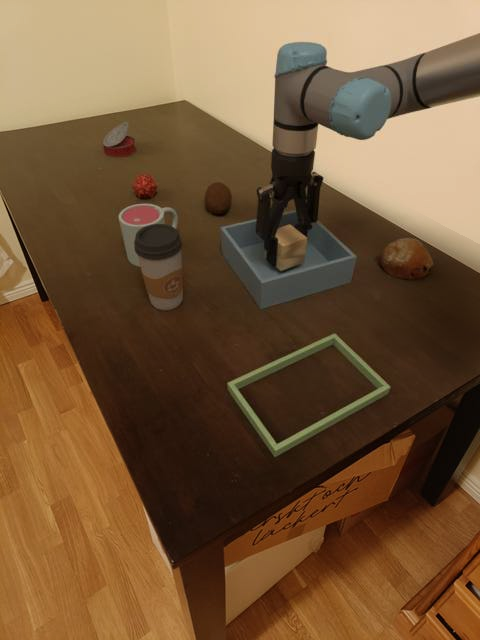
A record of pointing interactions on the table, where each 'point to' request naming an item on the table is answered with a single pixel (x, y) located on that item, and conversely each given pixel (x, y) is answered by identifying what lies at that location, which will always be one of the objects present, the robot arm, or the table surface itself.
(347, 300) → the table surface
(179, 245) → the coffee cup
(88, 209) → the table surface
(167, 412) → the table surface
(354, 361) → the frame
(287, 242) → the block
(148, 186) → the red bumpy ball
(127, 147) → the canned food
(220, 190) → the potato
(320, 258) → the bin
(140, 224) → the mug
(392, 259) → the bread roll
